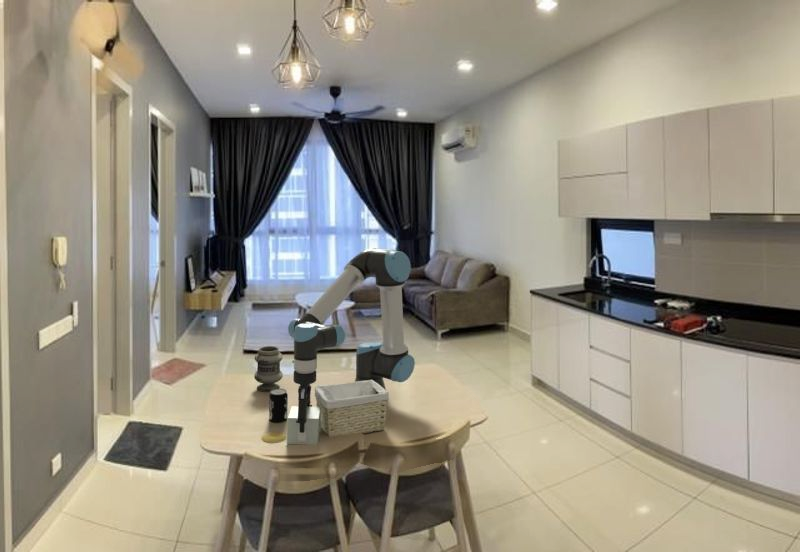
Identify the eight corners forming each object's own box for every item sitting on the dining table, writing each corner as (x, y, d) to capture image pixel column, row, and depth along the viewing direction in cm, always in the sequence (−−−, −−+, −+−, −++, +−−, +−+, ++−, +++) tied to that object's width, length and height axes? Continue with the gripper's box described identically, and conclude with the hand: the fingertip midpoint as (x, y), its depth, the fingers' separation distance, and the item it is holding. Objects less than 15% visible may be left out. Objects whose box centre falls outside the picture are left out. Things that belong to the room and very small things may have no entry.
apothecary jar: (253, 393, 209) (253, 352, 206) (254, 384, 220) (255, 345, 218) (282, 392, 211) (283, 351, 209) (282, 382, 223) (283, 344, 221)
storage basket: (325, 442, 167) (326, 401, 165) (312, 423, 182) (313, 385, 180) (389, 431, 177) (390, 392, 176) (372, 414, 192) (373, 378, 190)
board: (317, 432, 174) (317, 418, 173) (313, 450, 161) (314, 435, 161) (265, 432, 172) (265, 418, 172) (257, 450, 160) (258, 434, 159)
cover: (319, 431, 172) (320, 406, 171) (317, 444, 163) (318, 418, 162) (290, 430, 172) (291, 406, 171) (286, 444, 162) (287, 417, 161)
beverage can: (282, 427, 177) (283, 395, 176) (265, 425, 179) (266, 393, 177) (290, 420, 184) (290, 389, 182) (273, 417, 185) (274, 387, 184)
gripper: (297, 360, 175) (296, 419, 178) (288, 381, 153) (287, 449, 155) (319, 360, 176) (317, 419, 178) (313, 381, 153) (311, 449, 156)
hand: (303, 433), depth 167 cm, fingers closed on cover, 10 cm apart
